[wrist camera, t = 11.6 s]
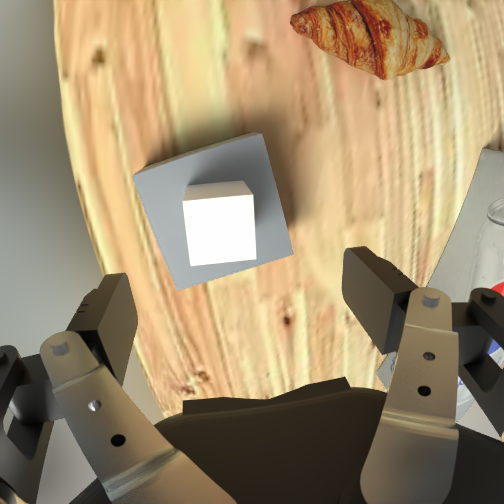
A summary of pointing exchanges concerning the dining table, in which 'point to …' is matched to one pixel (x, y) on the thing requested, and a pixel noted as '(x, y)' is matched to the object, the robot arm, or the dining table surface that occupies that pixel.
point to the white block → (219, 222)
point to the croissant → (372, 36)
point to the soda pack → (472, 255)
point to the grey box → (203, 172)
